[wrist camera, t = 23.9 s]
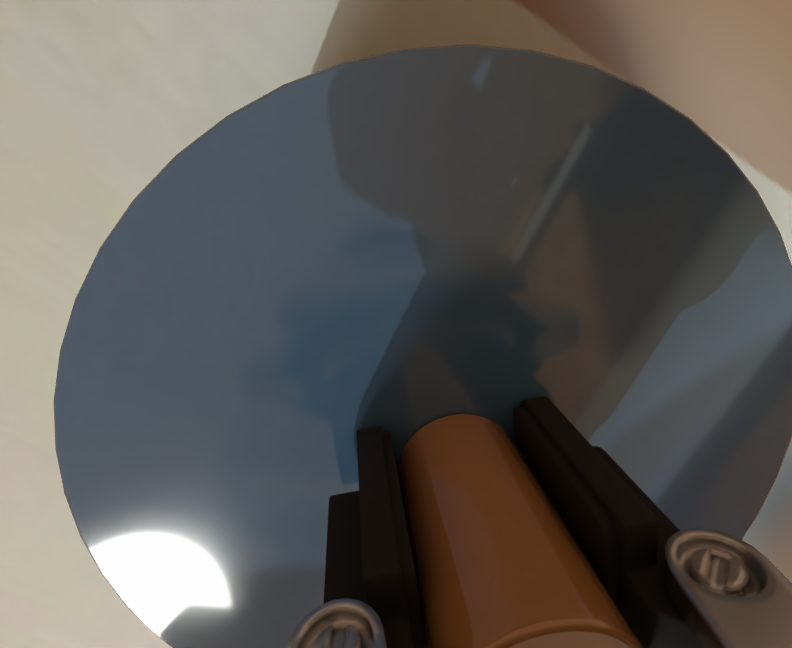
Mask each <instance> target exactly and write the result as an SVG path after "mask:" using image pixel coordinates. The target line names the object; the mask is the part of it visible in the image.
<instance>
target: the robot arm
mask: <svg viewBox="0 0 792 648" xmlns="http://www.w3.org/2000/svg"><path fill="white" fill-rule="evenodd" d="M513 417H514V432H515V445H516V447H517V448H518V450H519V451H520V453H521V455H522V456H523V458H524V459H525V461H526V462H527V464H528V466H529V467H530V469H531V470H532V472H533V474H534V475H535V477H536V478H537V480H538V482H539V483H540V485H541V486H542V488H543V489H544V491H545V493H546V494H547V496H548V497H549V499H550V501H551V502H552V504H553V505H554V507H555V508H556V510H557V512H558V513H559V515H560V516H561V518H562V520H563V521H564V523H565V524H566V526H567V527H568V529H569V531H570V532H571V534H572V535H573V537H574V539H575V540H576V542H577V543H578V545H579V546H580V548H581V550H582V551H583V553H584V554H585V556H586V558H587V559H588V561H589V562H590V564H591V565H592V567H593V569H594V570H595V572H596V573H597V575H598V577H599V578H600V580H601V581H602V583H603V584H604V586H605V588H606V589H607V591H608V592H609V594H610V596H611V597H612V599H613V600H614V602H615V603H616V605H617V607H618V608H619V610H620V611H621V613H622V615H623V616H624V618H625V619H626V621H627V622H628V624H629V626H630V627H631V629H632V630H633V632H634V634H635V635H636V637H637V638H638V640H639V641H640V643H641V645H642V646H643V648H792V583H791V582H790V581H789V580H788V579H787V578H786V577H785V576H784V575H783V574H782V573H781V572H780V571H779V570H778V569H777V568H776V567H775V566H774V565H773V564H772V563H771V562H770V561H769V560H768V559H767V558H766V557H765V556H764V555H762V554H761V553H760V552H759V551H758V550H757V549H755V548H754V547H753V546H751V545H749V544H747V543H745V542H744V541H742V540H740V539H739V538H737V537H734V536H731V535H729V534H726V533H723V532H720V531H715V530H710V529H705V528H689V529H685V530H682V531H680V530H679V529H678V528H677V527H676V526H675V525H674V524H673V523H672V521H671V520H670V519H669V518H668V517H667V516H666V515H665V514H664V513H663V512H662V511H661V510H660V509H659V508H658V507H657V506H656V505H655V503H654V502H653V501H652V500H651V499H650V498H649V497H648V496H647V495H646V494H645V493H644V492H643V491H642V490H641V489H640V488H639V486H638V485H637V484H636V483H635V482H634V481H633V480H632V479H631V478H630V477H629V476H628V475H627V474H626V473H625V472H624V471H623V469H622V468H621V467H620V466H619V465H618V464H617V463H616V462H615V461H614V460H613V459H612V458H611V457H610V456H609V455H608V454H607V452H606V451H604V450H603V449H602V448H601V447H598V446H592V445H591V444H590V443H589V442H588V441H587V440H586V439H585V438H584V437H583V435H582V434H581V433H580V432H579V431H578V430H577V429H576V428H575V427H574V426H573V424H572V423H571V422H570V421H569V420H568V419H567V418H566V417H565V416H564V415H563V413H562V412H561V411H560V410H559V409H558V408H557V407H556V406H555V405H554V404H553V403H552V401H551V400H550V399H549V398H548V397H546V396H543V397H538V398H532V399H527V400H522V401H521V403H520V407H518V408H514V411H513ZM357 453H358V477H359V490H358V491H353V492H348V493H342V494H337V495H332V496H330V498H329V509H328V528H327V546H326V565H325V584H324V603H323V604H322V605H319V606H318V607H316V608H315V609H314V610H312V611H311V612H310V613H308V614H307V615H306V616H305V617H304V618H303V619H302V621H301V622H300V623H299V624H298V625H297V627H296V628H295V630H294V632H293V634H292V636H291V638H290V640H289V642H288V648H426V647H425V638H424V631H425V629H424V623H423V617H422V611H421V605H420V599H419V593H418V587H417V581H416V575H415V569H414V563H413V557H412V552H411V546H410V540H409V534H408V529H407V523H406V517H405V511H404V506H403V500H402V494H401V489H400V483H399V477H398V471H397V466H396V460H395V454H394V448H393V443H392V437H391V431H385V432H381V428H380V426H377V427H371V428H366V429H360V430H357Z"/></svg>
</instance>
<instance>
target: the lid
mask: <svg viewBox="0 0 792 648" xmlns="http://www.w3.org/2000/svg"><path fill="white" fill-rule="evenodd" d="M543 396H546V397H548V398H549V399H550V400H551V401H552V403H553V404H554V405H555V406H556V407H557V408H558V409H559V410H560V411H561V412H562V413H563V415H564V416H565V417H566V418H567V419H568V420H569V421H570V422H571V423H572V424H573V426H574V427H575V428H576V429H577V430H578V431H579V432H580V433H581V434H582V435H583V437H584V438H585V439H586V440H587V441H588V442H589V443H590V444H591V445H592V446H598V447H601V448H602V449H603V450H604V451H606V452H607V454H608V455H609V456H610V457H611V458H612V459H613V460H614V461H615V462H616V463H617V464H618V465H619V466H620V467H621V468H622V469H623V471H624V472H625V473H626V474H627V475H628V476H629V477H630V478H631V479H632V480H633V481H634V482H635V483H636V484H637V485H638V486H639V488H640V489H641V490H642V491H643V492H644V493H645V494H646V495H647V496H648V497H649V498H650V499H651V500H652V501H653V502H654V503H655V505H656V506H657V507H658V508H659V509H660V510H661V511H662V512H663V513H664V514H665V515H666V516H667V517H668V518H669V519H670V520H671V521H672V523H673V524H674V525H675V526H676V527H677V528H678V529H679V530H680V531H682V530H685V529H689V528H705V529H710V530H715V531H720V532H723V533H726V534H729V535H731V536H734V537H737V538H739V539H740V540H742V539H743V537H744V536H745V534H746V533H747V531H748V530H749V528H750V527H751V525H752V524H753V522H754V521H755V519H756V517H757V516H758V514H759V513H760V511H761V509H762V507H763V505H764V503H765V501H766V499H767V497H768V495H769V493H770V491H771V489H772V487H773V485H774V483H775V481H776V479H777V477H778V474H779V471H780V469H781V466H782V463H783V461H784V458H785V455H786V452H787V450H788V447H789V444H790V442H791V438H792V265H791V262H790V259H789V257H788V254H787V251H786V248H785V245H784V242H783V240H782V237H781V234H780V232H779V230H778V228H777V226H776V224H775V222H774V221H773V219H772V217H771V215H770V213H769V211H768V210H767V208H766V206H765V204H764V202H763V200H762V199H761V197H760V195H759V193H758V191H757V190H756V189H755V187H754V186H753V185H752V184H751V182H750V181H749V180H748V178H747V177H746V176H745V175H744V173H743V172H742V171H741V170H740V168H739V167H738V166H737V164H736V163H735V162H734V161H733V159H732V158H731V157H730V155H729V154H728V153H727V152H726V151H725V150H724V149H723V148H722V147H721V146H719V145H718V144H717V143H716V142H715V141H714V140H713V139H712V138H711V137H710V136H709V135H707V134H706V133H705V132H704V131H703V130H702V129H701V128H700V127H699V126H698V125H696V124H695V123H694V122H693V121H692V120H691V119H690V118H689V117H687V116H685V115H684V114H682V113H681V112H679V111H678V110H676V109H675V108H673V107H672V106H670V105H668V104H667V103H665V102H664V101H662V100H661V99H659V98H658V97H656V96H655V95H653V94H652V93H650V92H648V91H647V90H645V89H644V88H642V87H639V86H637V85H635V84H632V83H630V82H628V81H626V80H623V79H621V78H619V77H616V76H614V75H612V74H610V73H607V72H605V71H603V70H600V69H598V68H596V67H594V66H591V65H587V64H583V63H580V62H576V61H572V60H568V59H564V58H560V57H556V56H552V55H548V54H545V53H541V52H537V51H532V50H521V49H511V48H500V47H490V46H479V45H460V46H442V47H425V48H408V49H403V50H399V51H394V52H389V53H384V54H380V55H375V56H370V57H365V58H361V59H356V60H351V61H347V62H343V63H340V64H338V65H335V66H332V67H330V68H327V69H324V70H322V71H319V72H316V73H314V74H311V75H308V76H306V77H303V78H300V79H297V80H295V81H292V82H289V83H287V84H284V85H282V86H280V87H278V88H277V89H275V90H273V91H271V92H269V93H268V94H266V95H264V96H262V97H260V98H259V99H257V100H255V101H253V102H251V103H250V104H248V105H246V106H244V107H242V108H241V109H239V110H237V111H235V112H233V113H232V114H230V115H228V116H226V117H225V118H224V119H222V120H221V121H220V122H218V123H217V124H216V125H215V126H213V127H212V128H211V129H209V130H208V131H207V132H205V133H204V134H203V135H202V136H200V137H199V138H198V139H196V140H195V141H194V142H192V143H191V144H190V145H189V146H187V147H186V148H185V149H183V150H182V151H181V152H179V153H178V154H177V155H176V156H175V157H174V158H173V159H172V160H171V161H170V162H169V163H168V164H167V165H166V166H165V167H164V168H163V169H162V170H161V171H160V173H159V174H158V175H157V176H156V177H155V178H154V179H153V180H152V181H151V182H150V183H149V184H148V185H147V186H146V187H145V188H144V189H143V190H142V191H141V192H140V193H139V194H138V196H137V197H136V198H135V199H134V200H133V201H132V203H131V204H130V206H129V207H128V208H127V210H126V211H125V213H124V214H123V216H122V217H121V219H120V220H119V221H118V223H117V224H116V226H115V227H114V229H113V230H112V231H111V233H110V234H109V236H108V237H107V239H106V240H105V242H104V243H103V244H102V246H101V247H100V249H99V251H98V253H97V255H96V257H95V259H94V262H93V264H92V266H91V268H90V270H89V272H88V274H87V276H86V278H85V280H84V282H83V284H82V286H81V288H80V291H79V293H78V295H77V297H76V299H75V302H74V306H73V309H72V312H71V316H70V319H69V323H68V326H67V329H66V333H65V336H64V339H63V343H62V346H61V350H60V356H59V364H58V372H57V380H56V388H55V396H54V418H55V445H56V453H57V458H58V463H59V468H60V473H61V478H62V483H63V488H64V493H65V496H66V499H67V501H68V504H69V507H70V509H71V512H72V515H73V517H74V520H75V523H76V526H77V528H78V531H79V534H80V536H81V538H82V540H83V541H84V543H85V545H86V547H87V549H88V550H89V552H90V554H91V556H92V557H93V559H94V561H95V563H96V565H97V566H98V568H99V570H100V572H101V573H102V575H103V576H104V577H105V579H106V580H107V581H108V583H109V584H110V585H111V586H112V588H113V589H114V590H115V592H116V593H117V594H118V596H119V597H120V598H121V599H122V601H123V602H124V603H125V605H126V606H127V607H128V608H129V609H130V610H131V611H132V612H133V613H134V614H135V615H136V616H137V617H138V618H139V619H140V620H141V621H142V622H143V623H144V624H145V625H146V626H147V627H148V628H149V629H150V630H151V631H152V632H153V633H154V634H155V635H157V636H158V637H159V638H161V639H162V640H163V641H165V642H166V643H167V644H169V645H170V646H171V647H173V648H288V642H289V640H290V638H291V636H292V634H293V632H294V630H295V628H296V627H297V625H298V624H299V623H300V622H301V621H302V619H303V618H304V617H305V616H306V615H307V614H308V613H310V612H311V611H312V610H314V609H315V608H316V607H318V606H319V605H322V604H323V603H324V584H325V565H326V546H327V528H328V509H329V498H330V496H332V495H337V494H342V493H348V492H353V491H358V490H359V477H358V453H357V430H360V429H366V428H371V427H377V426H380V428H381V432H385V431H391V437H392V443H393V448H394V454H395V460H396V466H397V471H398V477H399V483H400V489H401V494H402V500H403V506H404V511H405V517H406V523H407V529H408V534H409V540H410V546H411V552H412V557H413V563H414V569H415V575H416V581H417V587H418V593H419V599H420V605H421V611H422V617H423V623H424V629H425V631H424V638H425V647H426V648H643V646H642V645H641V643H640V641H639V640H638V638H637V637H636V635H635V634H634V632H633V630H632V629H631V627H630V626H629V624H628V622H627V621H626V619H625V618H624V616H623V615H622V613H621V611H620V610H619V608H618V607H617V605H616V603H615V602H614V600H613V599H612V597H611V596H610V594H609V592H608V591H607V589H606V588H605V586H604V584H603V583H602V581H601V580H600V578H599V577H598V575H597V573H596V572H595V570H594V569H593V567H592V565H591V564H590V562H589V561H588V559H587V558H586V556H585V554H584V553H583V551H582V550H581V548H580V546H579V545H578V543H577V542H576V540H575V539H574V537H573V535H572V534H571V532H570V531H569V529H568V527H567V526H566V524H565V523H564V521H563V520H562V518H561V516H560V515H559V513H558V512H557V510H556V508H555V507H554V505H553V504H552V502H551V501H550V499H549V497H548V496H547V494H546V493H545V491H544V489H543V488H542V486H541V485H540V483H539V482H538V480H537V478H536V477H535V475H534V474H533V472H532V470H531V469H530V467H529V466H528V464H527V462H526V461H525V459H524V458H523V456H522V455H521V453H520V451H519V450H518V448H517V447H516V445H515V432H514V417H513V411H514V408H518V407H520V403H521V401H522V400H527V399H532V398H538V397H543Z"/></svg>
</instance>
